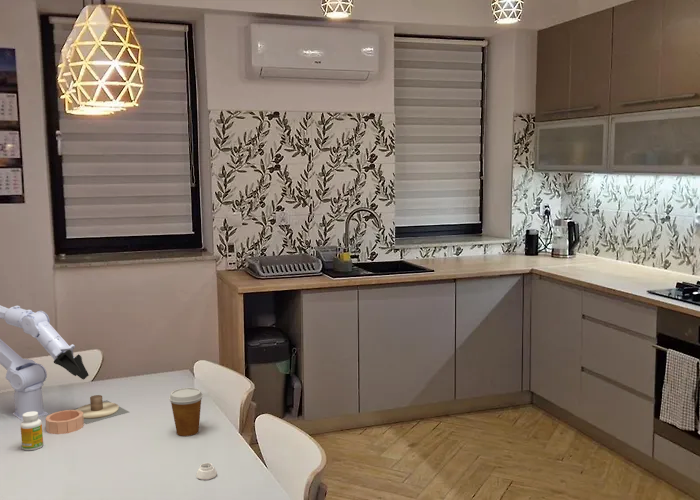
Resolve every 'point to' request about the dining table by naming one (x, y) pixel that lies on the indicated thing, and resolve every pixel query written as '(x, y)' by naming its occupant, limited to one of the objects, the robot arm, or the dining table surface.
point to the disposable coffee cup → (186, 410)
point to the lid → (98, 408)
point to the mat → (119, 412)
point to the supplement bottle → (31, 431)
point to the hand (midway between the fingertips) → (82, 375)
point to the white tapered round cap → (206, 471)
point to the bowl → (64, 421)
